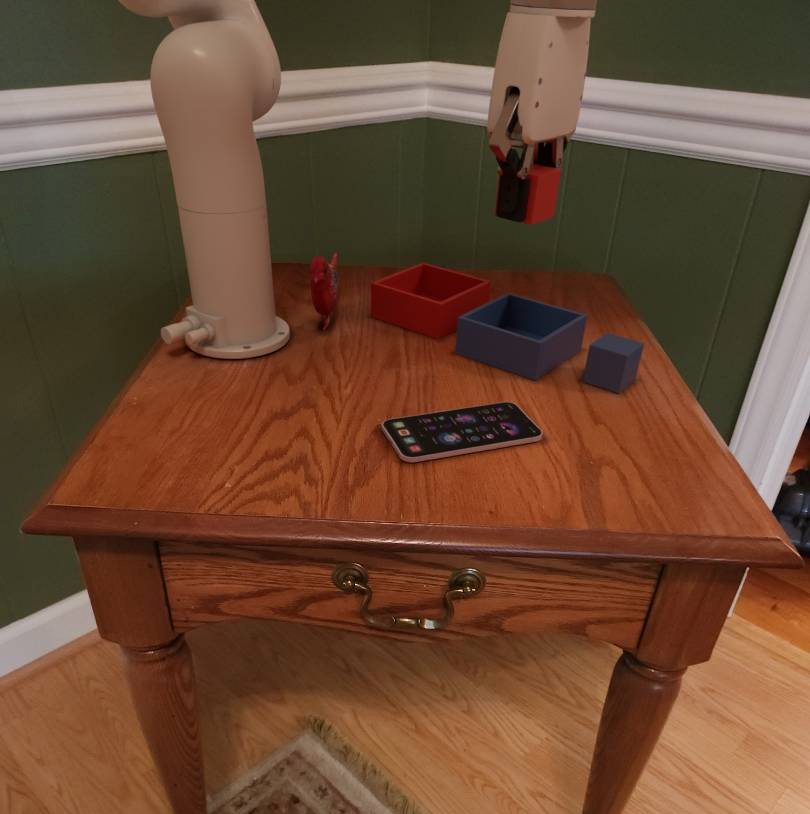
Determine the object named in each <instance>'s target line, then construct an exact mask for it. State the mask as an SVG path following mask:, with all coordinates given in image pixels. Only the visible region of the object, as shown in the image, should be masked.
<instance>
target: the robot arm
mask: <svg viewBox="0 0 810 814" xmlns="http://www.w3.org/2000/svg"><path fill="white" fill-rule="evenodd" d="M117 2H119V3H120V4H121V5H122V6H123V7H125V9H127V10H129V11H130V12H132V13H134V14H137V15H139V16H143V17H149V18H165V17H167V19H168V20H169V22H170V24H171V27H172V28H173V30H172V31H170V33H168V34H167V35H166V36H165V37H164V38H163V39H162V40H161V42H160V44H158V46H157V48H156V51H155V52H154V55H153V58H152V61H151V65H150V66H151V67H150V75H149V76H150V80H149V81H150V90H151V98H152V102H153V106H154V109H155V113H156V117H157V121H158V123H159V126H160V129H161V133H162V136H163V140H164V143H165V146H166V147H165V148H166V151H167V155H168V159H169V165H170V168H171V174H172V180H173V187H174V193H175V199H176V205H177V211H178V218H179V223H180V230H181V236H182V242H183V249H184V257H185V263H186V268H187V269H186V270H187V275H188V281H189V289H190V295H191V301H192V305H189V306H187V307H185V315H186V316H184V317H182V319H181V321H180V322H175V323H172V324H168V325H166V326H163V327H161V328H160V336H161V339H162V341H163V342H164V343H165V344H167V345H171V344H174V343H177V342H179V341H182V340H183V339H184V342H185V344H186V346H187V347H188V349H190V350H191V351H193V352H195V353H196V354H199V355H202V356H205V357H209V358H214V359H221V360H222V359H223V360H236V359H237V360H242V359H243V360H244V359H250V358H256V357H261V356H265V355H268V354H272V353H273V352H276V351H279V349H281V348H283V347H285V345H286V344H287V343H288V342H289V340H290V337H291V332H290V330H291V329H290V325H289V324H288V323H287V322H286V321H285V320H284V319H283V318H281V317H279V316H277V315H276V304H275V291H274V278H273V268H272V267H273V266H272V257H271V256H272V255H271V245H270V232H269V231H270V230H269V221H268V208H267V200H266V199H267V197H266V187H265V177H264V170H263V165H262V159H261V155H260V151H259V147H258V143H257V139H256V133H255V129H254V122H255V121H257V120H260V119H261V118H263V117H264V116H266V114H268V113H269V112H270V110H271V109H273V107H274V105H275V103H276V101H277V100H278V97H279V94H280V92H281V85H282V70H281V64H280V63H281V62H280V59H279V55H278V53H277V49H276V47H275V44H274V41H273V39H272V36H271V34H270V32H269V30H268V28H267V25H266V23H265V21H264V19H263V16H262V14H261V11H260V10H259V7H258V6H257V2H256V1H255V0H117ZM597 3H598V0H510V4H509V12H506V17H505V20H504V24H503V27H502V31H501V36H500V40H499V45H498V49H497V54H496V60H495V65H494V72H493V78H492V83H491V84H492V85H491V91H490V98H489V106H488V113H487V122H486V123H487V125H486V131H487V134H488V135H489V137H490V138H489V141H488V146H489V149H490V150H491V151H492V153H493V155H494V156H495V159H496V161H497V164H498V167H497V173H498V176H499V175H500V183H499V191H498V200H497V209H496V215H497V216H496V217H497V218H500V219H504V220H508V221H511V222H516V223H522V222H523V221H524V220H525V218H526V211H527V204H528V197H529V189H530V182H531V179H529V178H526V177H527V175H528V171H529V167H530V163H531V162H532V163H533V164H537V165H542V166H547V167H552V168H557V169H561V167H562V165H563V155H564V152H565V151H566V149H567V147H568V143H569V141H570V140H571V138H572V137H573V136H574V134H575V132H576V130H577V125H578V121H579V118H580V112H581V107H582V102H583V96H584V90H585V84H586V76H587V67H588V59H589V58H588V57H589V48H590V38H591V37H590V36H591V21H592V19H591V18H595V16H596V8H597ZM516 135H520V138H521V139H518V138H517V139H516ZM515 148H518V149H522V150H521V155H519V152H518V151H517V149H515Z"/></svg>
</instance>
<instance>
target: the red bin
mask: <svg viewBox="0 0 810 814" xmlns="http://www.w3.org/2000/svg"><path fill="white" fill-rule="evenodd" d="M491 287H492V281H490V280H488V279H483V278H480V277H478V276H477V277H476V276H473V275H470V274H466V273H462V272H459V271H455V270H452V269H448V268H444V267H441V266H437V265H434V264H430V263H426V262H421V263H419V264H415V265H413V266H410V267H408V268H406V269H403V270H400V271H397V272H395V273H393V274H390V275H387V276H385V277H383V278H380V279H377V280H374V281H372V282H370V317H371V318H373V319H376V320H379V321H382V322H385V323H387V324H391V325H394V326H397V327H401V328H403V329H407V330H409V331H412V332H415V333H418V334H421V335H424V336H427V337H430V338H433V339H435V340H441V339H444V338H446V337H447V336H450V335H451V334H453V333H455V332H457V322H458V317H460V316H461V315H463V314H466V313H468V312H470V311H472V310H474V309H476V308H478V307H480V306H482V305H484V304H486V303H488V302H490V295H491Z"/></svg>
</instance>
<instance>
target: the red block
mask: <svg viewBox="0 0 810 814" xmlns="http://www.w3.org/2000/svg"><path fill="white" fill-rule="evenodd" d="M561 174H562V169H561V168H560V169H557V168H552V167H547V166H542V165H537V164H533V162H532V163H530V167H529V171H528V175H527V177H526V178H529V179H531V182H530V189H529V197H528V204H527V211H526V218H525V220H524V221H523V222H521V223H523V224H526V225H531V226H532V225H535V224H537V223H540V222H543V221H546V220H548V219H552V218H554V216H555V211H556V207H557V206H556V205H557V200H558V194H559V187H560V182H561ZM499 183H500V175H499V174H498V181H497V189H496V198H495V204H494V205H495V206H494V216H495V217H497V215H496V209H497V200H498V191H499Z"/></svg>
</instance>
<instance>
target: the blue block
mask: <svg viewBox="0 0 810 814" xmlns="http://www.w3.org/2000/svg"><path fill="white" fill-rule="evenodd" d="M588 346H589V347H588V351H587V356H586V361H585V367H584V370H583V371H584V372H583V377H582V382H583V383H585V384H587V385H591V386H593V387H596V388H600V389H603V390H606V391H609V392H612V393H615V394H620V393H621V392H623V391H624V390H625V389H626V388H627V387H629V386H630V385H631V384H633V383H635V381H636V379H637V374H638V370H639V367H640V363H641V359H642V354H643V352H644V351H643V350H644V348H645V347H644V346H645V343H644V342H640V341H637V340H634V339H630V338H627V337H624V336H621V335H617V334H613V333H610V332H606V333H605V334H603V335H602V336H600V337H599V338H598V339H596V340H594V341H593V342H591V343H590V344H589V345H588Z"/></svg>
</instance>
